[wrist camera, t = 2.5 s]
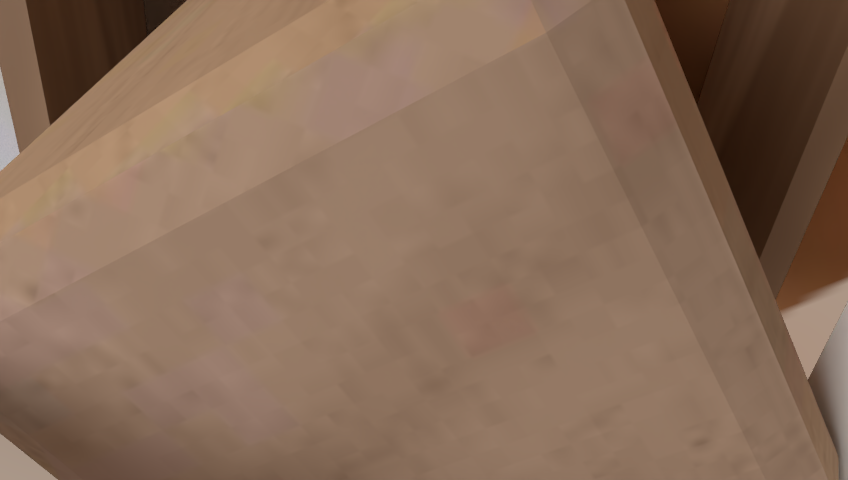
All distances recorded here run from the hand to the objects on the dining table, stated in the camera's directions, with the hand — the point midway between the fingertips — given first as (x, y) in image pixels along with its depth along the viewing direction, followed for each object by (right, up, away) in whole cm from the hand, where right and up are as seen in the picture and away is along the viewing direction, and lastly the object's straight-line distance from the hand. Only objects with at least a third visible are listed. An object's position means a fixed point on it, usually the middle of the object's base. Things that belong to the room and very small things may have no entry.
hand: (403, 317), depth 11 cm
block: (+1, +10, +15) cm, 18 cm away
